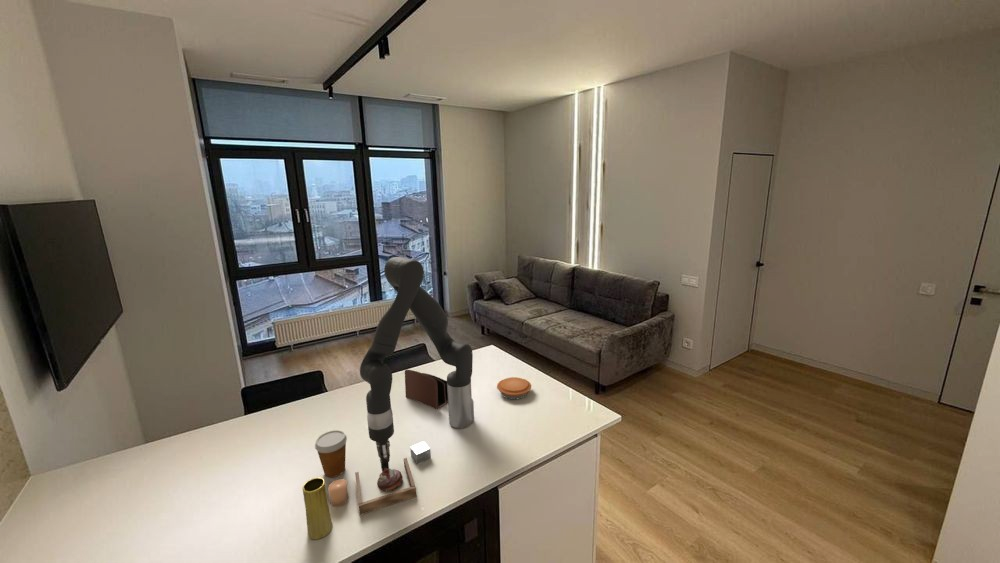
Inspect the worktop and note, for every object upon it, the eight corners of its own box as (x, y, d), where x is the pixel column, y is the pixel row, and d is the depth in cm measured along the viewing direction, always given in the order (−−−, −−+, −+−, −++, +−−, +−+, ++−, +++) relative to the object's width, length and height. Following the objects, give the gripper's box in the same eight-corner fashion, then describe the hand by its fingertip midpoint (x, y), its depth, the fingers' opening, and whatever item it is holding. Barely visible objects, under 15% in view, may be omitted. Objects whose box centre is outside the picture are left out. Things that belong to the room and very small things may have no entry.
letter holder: (437, 410, 157) (435, 379, 154) (405, 396, 168) (403, 367, 165) (453, 399, 165) (452, 370, 162) (421, 387, 176) (419, 359, 173)
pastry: (373, 482, 118) (371, 468, 117) (395, 470, 123) (394, 457, 122) (384, 496, 112) (383, 482, 111) (407, 483, 117) (406, 469, 116)
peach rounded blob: (348, 491, 114) (346, 477, 113) (349, 503, 110) (347, 488, 109) (330, 496, 112) (328, 482, 111) (330, 509, 108) (328, 494, 107)
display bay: (407, 465, 125) (406, 457, 124) (416, 496, 112) (415, 487, 111) (356, 480, 119) (355, 472, 118) (359, 515, 106) (358, 506, 105)
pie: (532, 401, 162) (532, 391, 161) (496, 402, 163) (496, 391, 161) (530, 384, 177) (530, 374, 176) (497, 384, 178) (497, 375, 177)
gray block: (424, 451, 132) (423, 441, 131) (430, 458, 128) (430, 448, 127) (411, 457, 129) (410, 447, 128) (417, 465, 125) (416, 454, 124)
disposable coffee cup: (339, 483, 118) (334, 449, 115) (312, 479, 120) (307, 446, 117) (356, 462, 127) (352, 430, 124) (331, 459, 129) (326, 427, 126)
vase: (313, 521, 104) (306, 476, 101) (336, 519, 104) (329, 475, 101) (303, 540, 98) (296, 494, 95) (328, 538, 98) (321, 492, 95)
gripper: (396, 429, 113) (400, 479, 117) (389, 408, 125) (394, 453, 128) (370, 436, 110) (375, 487, 114) (365, 413, 122) (371, 460, 125)
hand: (385, 469), depth 121 cm, fingers closed
